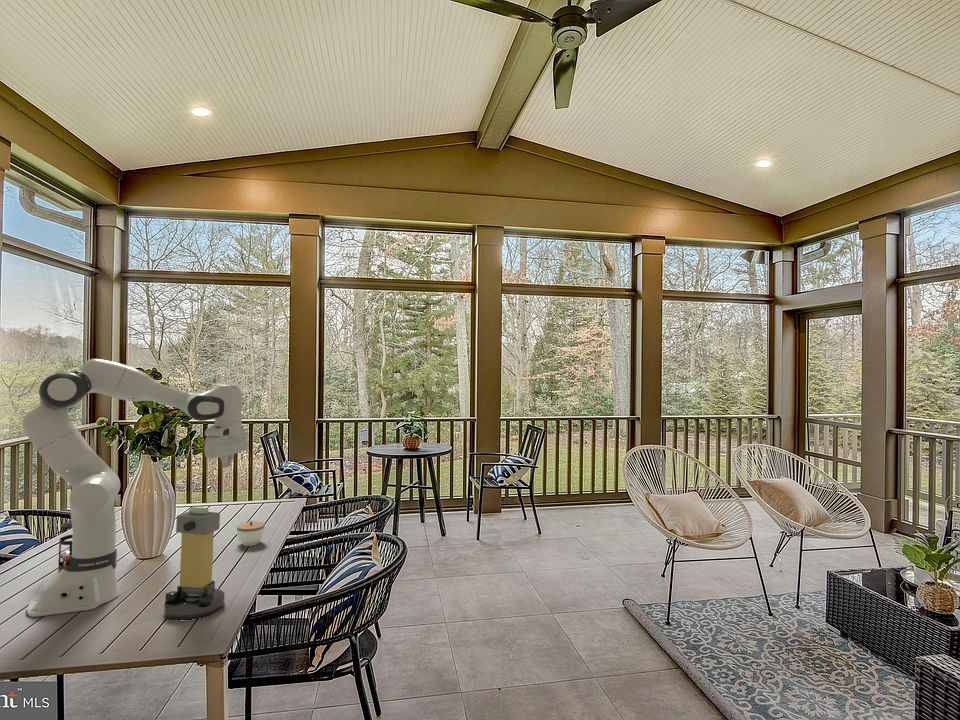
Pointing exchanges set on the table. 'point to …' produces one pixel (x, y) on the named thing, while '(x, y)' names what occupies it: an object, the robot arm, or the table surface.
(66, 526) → the french press
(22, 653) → the table surface
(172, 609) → the levelling base
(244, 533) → the lidded jar
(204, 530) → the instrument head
